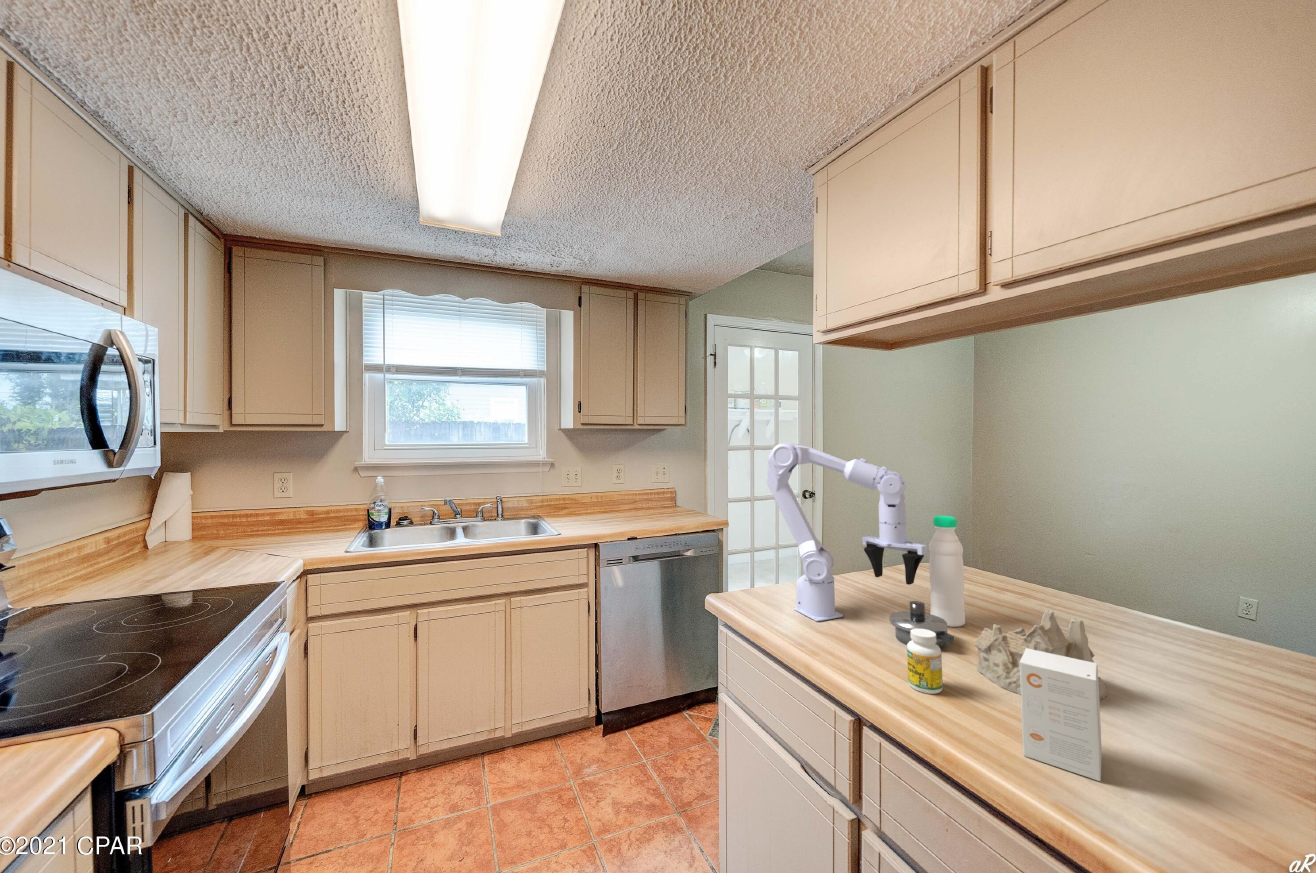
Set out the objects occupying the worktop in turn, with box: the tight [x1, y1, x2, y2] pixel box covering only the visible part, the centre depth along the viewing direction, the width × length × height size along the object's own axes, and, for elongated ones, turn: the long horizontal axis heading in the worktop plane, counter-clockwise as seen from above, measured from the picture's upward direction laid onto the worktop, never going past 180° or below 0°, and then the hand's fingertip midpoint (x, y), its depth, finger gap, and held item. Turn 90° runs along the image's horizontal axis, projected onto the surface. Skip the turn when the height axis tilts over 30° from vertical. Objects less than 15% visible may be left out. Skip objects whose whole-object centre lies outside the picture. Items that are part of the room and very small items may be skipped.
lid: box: [889, 600, 948, 634], centre depth 105 cm, size 11×11×5 cm
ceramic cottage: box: [974, 609, 1108, 700], centre depth 87 cm, size 16×16×15 cm
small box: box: [1019, 648, 1103, 782], centre depth 67 cm, size 8×6×13 cm
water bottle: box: [928, 515, 966, 628], centre depth 115 cm, size 7×7×25 cm
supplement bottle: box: [906, 629, 944, 695], centre depth 86 cm, size 5×5×10 cm
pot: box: [894, 626, 955, 650], centre depth 105 cm, size 14×10×4 cm
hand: (893, 579), depth 115 cm, fingers open, 7 cm apart
